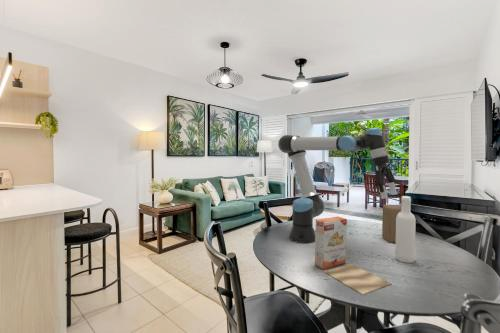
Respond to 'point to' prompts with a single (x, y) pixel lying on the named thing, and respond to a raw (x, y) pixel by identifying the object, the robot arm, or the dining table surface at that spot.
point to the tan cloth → (357, 278)
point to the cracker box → (330, 242)
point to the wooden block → (390, 222)
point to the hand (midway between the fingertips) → (389, 196)
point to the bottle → (405, 233)
